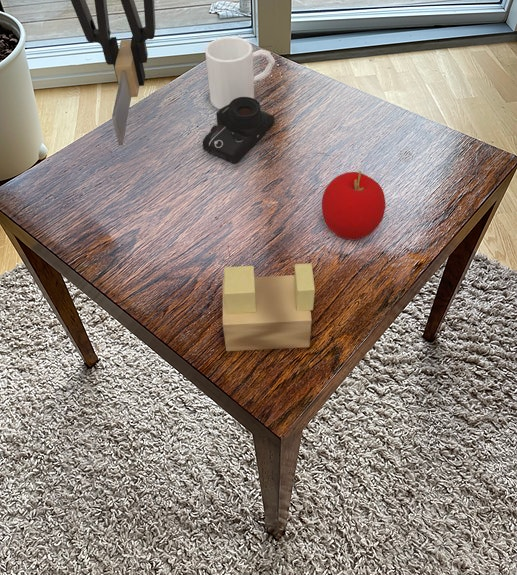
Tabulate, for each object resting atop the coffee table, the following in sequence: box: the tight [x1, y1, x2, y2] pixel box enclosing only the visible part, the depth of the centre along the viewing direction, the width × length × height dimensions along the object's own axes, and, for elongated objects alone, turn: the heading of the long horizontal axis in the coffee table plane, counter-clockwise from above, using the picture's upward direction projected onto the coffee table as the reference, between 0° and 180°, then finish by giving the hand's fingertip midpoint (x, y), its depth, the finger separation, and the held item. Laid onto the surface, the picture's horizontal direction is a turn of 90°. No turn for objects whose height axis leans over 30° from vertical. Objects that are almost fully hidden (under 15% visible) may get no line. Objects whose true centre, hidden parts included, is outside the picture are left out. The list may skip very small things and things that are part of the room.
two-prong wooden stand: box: [222, 274, 313, 352], centre depth 72 cm, size 10×7×6 cm, turn 92°
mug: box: [204, 36, 276, 110], centre depth 102 cm, size 8×12×10 cm
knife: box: [111, 39, 140, 147], centre depth 83 cm, size 20×2×5 cm, turn 2°
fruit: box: [321, 170, 386, 240], centre depth 81 cm, size 9×9×10 cm
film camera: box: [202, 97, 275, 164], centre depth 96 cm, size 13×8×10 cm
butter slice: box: [293, 263, 316, 311], centre depth 68 cm, size 2×4×4 cm, turn 2°
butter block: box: [223, 265, 256, 314], centre depth 68 cm, size 4×4×4 cm
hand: (132, 80), depth 89 cm, fingers closed on knife, 2 cm apart
